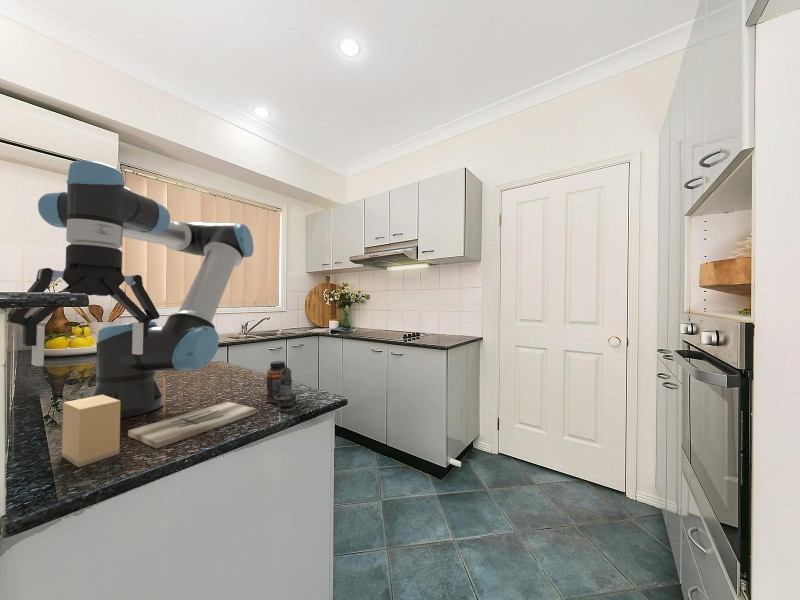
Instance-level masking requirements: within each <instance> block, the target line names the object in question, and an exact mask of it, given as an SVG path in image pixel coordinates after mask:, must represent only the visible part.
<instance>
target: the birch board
mask: <svg viewBox="0 0 800 600" xmlns="http://www.w3.org/2000/svg"><path fill="white" fill-rule="evenodd" d="M255 414H257V408H255V407H251V406H247V405H244V404H239V403H235V402H231V401H225V402H223V403H222V402H221V403H218V404H215V405H211V406H208V407H203V408H200V409H198V410H193V411H191V412H186V413H183V414H180V415H177V416H172V417H169V418H167V419H162V420H159V421H156V422H153V423H149V424H145V425H141V426H138V427H135V428H132V429H128V430H127V436H128V437H129V438H132V439H134V440H137V441H138V442H141V443H143V444H145V445H148V446H149V447H152V448H154V449H160V448H163V447H165V446H166V447H167V446H168V445H171V444H173V443H174V444H175V443H176V442H179V441H183V440H185V439H188V438H190V437H194V436H196V435H199V434H202V433H204V432H207V431H210V430H213V429H216V428H219V427H221V426H224V425H228V424H230V423H233V422H236V421H239V420H241V419H243V418H247V417H250V416H253V415H255Z"/></svg>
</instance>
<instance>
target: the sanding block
mask: <svg viewBox="0 0 800 600" xmlns="http://www.w3.org/2000/svg"><path fill="white" fill-rule="evenodd" d="M61 434H62V437H61V439H62V440H61V441H62V442H61V445H62V446H61V457H63V458H64V459H66V460H67V461H69V462H70V463H72V464H73V465H74V466H76V467H78V468H81V467H83V466H86V465H90V464H93V463H95V462H99V461H101V460H105V459H108V458H110V457H113V456H116V455H118V454H120V443H121V441H120V439H121V437H120V436H121V418H120V400H117V399H114V398H111V397H108V396H105V395H98V396H93V397H91V396H90V397H89V396H88V397H83V398H79V399H73V400H68V401H64V402H63V403H62V433H61Z"/></svg>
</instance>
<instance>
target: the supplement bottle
mask: <svg viewBox="0 0 800 600" xmlns="http://www.w3.org/2000/svg"><path fill="white" fill-rule="evenodd" d="M285 365H286V362H285V361H284V360H276V361H271V362H270V367H269V369H268V370H266V371H267V372H266V393H265V394H266V397H265V398H266V402H268V403H272V404H277V403H276V401H275V398H274V396H275V395H277V394H279V391H280V383H279V382H280V372H281V370H282V369H284V368H285Z"/></svg>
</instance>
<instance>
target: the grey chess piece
mask: <svg viewBox="0 0 800 600" xmlns="http://www.w3.org/2000/svg"><path fill="white" fill-rule="evenodd" d="M279 383H280V391H279V394H277V395H275V396H274V398H275V401H276V403H275V404H276V405H277V407H276V408H275V409H274V411H275V412H276V413H288V412H289V411H290V412H292V410H293V411H295V410H296V409H297V408H296V406H295V405H293V404H294V403H295V401H296V400H297V397H298V394H297V393H296V392H293V389H292V388H293V386H292V385H293V384H292V383H293V380H292V369H291V368H288V364H285V368H284V369H282V370H281V372H280V382H279ZM294 409H295V410H294Z"/></svg>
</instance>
